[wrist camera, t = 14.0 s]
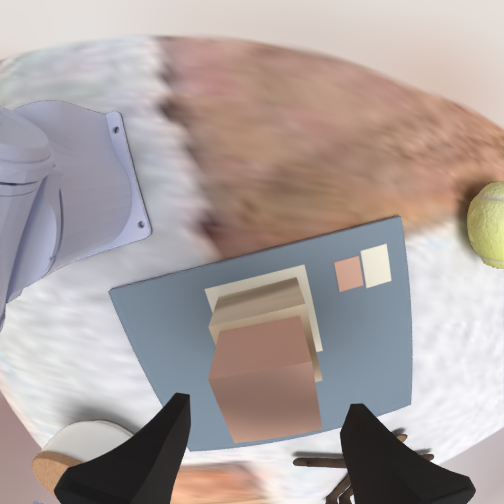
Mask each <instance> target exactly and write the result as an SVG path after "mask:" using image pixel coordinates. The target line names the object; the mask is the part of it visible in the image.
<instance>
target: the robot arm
mask: <svg viewBox="0 0 504 504" xmlns="http://www.w3.org/2000/svg"><path fill="white" fill-rule="evenodd" d="M117 127H118V128H119V131H118V133H117V134H116V133H115V129H116V128H117ZM140 221H143V222H144V225H145V226H144V228H142V227H141V226H140ZM150 235H151V227H150V223H149V220H148V217H147V214H146V210H145V207H144V203H143V200H142V196H141V193H140V189H139V186H138V182H137V179H136V175H135V171H134V167H133V163H132V160H131V156H130V152H129V148H128V144H127V139H126V135H125V131H124V127H123V122H122V118H121V114H120V113H119V112H117V111H112V112H110V113H108V114H106V115H104V114H101V113H98V112H95V111H92V110H89V109H86V108H82V107H79V106H76V105H73V104H70V103H67V102H63V101H56V100H49V101H40V102H34V103H30V104H27V105H24V106H21V107H19V108H17V109H15V110H13V111H10V110H8V109H6V108H3V107H1V106H0V332H1V330H2V328H3V324H4V321H5V305H6V303H9V302H10V301H12V300H13V299H15V298H17V297H18V296H20V295H21V292H22V290H23V289H24V288H25V287H27V286H29V285H31V284H33V283H35V282H36V281H38V280H40V279H42V278H43V277H45V276H47V275H49V274H51V273H53V272H54V271H56V270H58V269H60V268H62V267H64V266H66V265H68V264H69V263H71V262H74V261H77V260H80V259H83V258H86V257H89V256H92V255H95V254H98V253H101V252H104V251H107V250H110V249H113V248H116V247H119V246H123V245H126V244H129V243H132V242H135V241H139V240H142V239H145V238H147V237H149V236H150ZM190 428H191V410H190V394H184V393H177V392H176V393H175V394H174V395H173V396H172V397H171V399H170V400H169V401H168V402H167V403H166V405H165V406H164V407H163V408H162V409H161V410H160V411H159V412H158V413H157V414H156V416H155V417H154V418H153V419H152V420H151V421H150V422H149V423H147V424H146V425H145V426H144V427H143V428H142V429H141V430H140V431H138V432H137V433H136V434H135V435H133V436H132V437H131V438H129V439H128V440H127V441H125V442H124V443H122V444H121V445H119V446H117V447H116V448H114V449H112V450H111V451H109V452H107V453H105V454H103V455H101V456H99V457H97V458H94V459H92V460H90V461H87V462H84V463H81V464H78V465H75V466H72V467H68V468H67V469H66V471H65V472H64V473H63V474H62V476H61V477H60V479H59V481H58V483H57V484H56V486H55V488H54V494H55V496H56V497H57V499H58V500H59V502H60V503H61V504H170V500H171V495H172V490H173V486H174V483H175V479H176V476H177V473H178V470H179V467H180V464H181V462H182V459H183V456H184V453H185V450H186V447H187V444H188V439H189V434H190ZM340 439H341V447H342V452H343V456H344V460H345V463H346V467H347V471H348V474H349V478H350V481H351V485H352V489H353V494H354V501H355V504H467V503H468V501H470V499H471V498H472V497H473V496H474V494H475V492H476V489H475V487H474V485H473V484H472V482H471V480H470V478H469V477H467V476H464V475H461V474H458V473H455V472H452V471H449V470H447V469H445V468H442V467H440V466H438V465H436V464H434V463H432V462H430V461H429V460H427V459H425V458H423V457H422V456H420V455H419V454H417V453H416V452H414V451H413V450H411V449H410V448H409V447H407V446H406V445H405V444H404V443H402V442H401V441H400V440H399V439H398V438H397V437H396V436H394V435H393V434H392V433H391V432H390V431H389V430H388V429H387V428H386V427H385V426H384V425H383V424H382V423H381V422H380V421H379V420H378V419H377V418H376V416H375V415H374V414H373V413H372V412H371V411H370V410H369V409H368V408H367V407H366V406H365V405H364V404H363V403H357V404H351V405H350V408H349V410H348V413H347V416H346V418H345V421H344V424H343V426H342V429H341V431H340ZM33 504H42V503H40V502H38V501H34V503H33Z"/></svg>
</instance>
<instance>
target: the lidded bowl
mask: <svg viewBox="0 0 504 504" xmlns="http://www.w3.org/2000/svg"><path fill="white" fill-rule="evenodd" d="M133 435H134V434H133V433H131V432H130V431H129V430H127V429H125V428H124V427H122V426H120V425H118V424H115V423H113V422H109V421H105V420H94V421H83V422H77V423H73V424H70V425H68V426H66V427H64V428H63V429H61V430H60V431H59V432H57V433H56V434H55V435H54V436H53V437H52V438H51V439H50V440H49V441H48V443H47V444H46V445H45V446H44V448H43V449H42V451H41V452H40V453H38V455H37V456H36V457H35V458H34V460H33V462H32V467H33V471H34V473H35V475H36V477H37V478H38V480H39V481H40V482H41V483H42V485H43V486H44V487H45V488H46V489H47V490H48V491H49V492H50V493H52V495H53V496H55V494H54V488H55V486H56V484H57V483H58V481H59V479H60V477H61V476H62V474H63V473H64V472H65V471H66V469H67V468H68V467H72V466H75V465H78V464H81V463H84V462H87V461H90V460H92V459H94V458H97V457H99V456H101V455H103V454H105V453H107V452H109V451H111V450H112V449H114V448H116V447H117V446H119V445H121V444H122V443H124V442H125V441H127V440H128V439H129V438H131V437H132V436H133ZM55 497H56V496H55ZM56 498H57V497H56Z"/></svg>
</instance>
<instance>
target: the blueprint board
mask: <svg viewBox="0 0 504 504" xmlns="http://www.w3.org/2000/svg"><path fill="white" fill-rule="evenodd" d="M295 277H297V280H298V283H299V286H300V289H301V292H302V295H303V298H304V301H305V304H306V308H307V312H308V317H309V321H310V325H311V330H312V334H313V339H314V343H315V348H316V352H317V357H318V362H319V366H320V371H321V376H322V381H318V382H315V385H316V391H317V397H318V404H319V410H320V417H321V423H322V430H318V431H313V432H308V433H303V434H297V435H292V436H286V437H280V438H273V439H266V440H259V441H251V442H242V443H234V441H233V439H232V436H231V434H230V432H229V429H228V427H227V425H226V422H225V420H224V418H223V415H222V413H221V411H220V408H219V406H218V403H217V401H216V398H215V396H214V393H213V391H212V388H211V386H210V383H209V380H208V377H209V373H210V369H211V365H212V361H213V357H214V353H215V349H216V346H215V343H214V340H213V338H212V335H211V333H210V330H209V327H208V326H209V323H210V320H211V318H212V315H213V312H214V309H215V306H216V303H217V300H218V297H220V296H224V295H228V294H232V293H236V292H240V291H244V290H248V289H252V288H256V287H260V286H264V285H268V284H272V283H276V282H280V281H284V280H288V279H291V278H295ZM108 292H109V295H110V297H111V300H112V302H113V305H114V307H115V310H116V312H117V314H118V317H119V319H120V321H121V324H122V326H123V328H124V331H125V333H126V335H127V337H128V339H129V342H130V344H131V346H132V348H133V350H134V352H135V354H136V356H137V359H138V361H139V363H140V365H141V367H142V369H143V371H144V373H145V375H146V377H147V378H148V380H149V382H150V384H151V386H152V388H153V390H154V392H155V394H156V395H157V397H158V399H159V401H160V403H161V404H162V406H163V407H164V406H165V405H166V403H167V402H168V401H169V400H170V399H171V397H172V396H173V395H174V394H175V393H176V392H177V393H184V394H190V410H191V428H190V434H189V439H188V444H187V448H188V449H189V451H190V452H191V451H207V450H219V449H229V448H238V447H246V446H253V445H260V444H266V443H273V442H278V441H284V440H289V439H294V438H299V437H304V436H308V435H313V434H317V433H321V432H326V431H330V430H333V429H337V428H341V427H342V426H343V424H344V421H345V418H346V416H347V413H348V410H349V408H350V405H351V404H357V403H363V404H364V405H365V406H366V407H367V408H368V409H369V410H370V411H371V412H372V413H373V414H374V415H375V416H376V417H378V416H381V415H384V414H386V413H389V412H392V411H395V410H398V409H400V408H403V407H406V406H408V405H411V394H412V317H411V299H410V286H409V275H408V265H407V256H406V248H405V240H404V233H403V226H402V220H401V216H398V215H397V216H393V217H390V218H386V219H382V220H378V221H374V222H370V223H366V224H362V225H359V226H355V227H351V228H347V229H343V230H339V231H335V232H331V233H327V234H324V235H320V236H316V237H312V238H308V239H304V240H300V241H296V242H293V243H289V244H285V245H281V246H277V247H273V248H269V249H265V250H261V251H258V252H254V253H250V254H246V255H242V256H238V257H234V258H230V259H226V260H223V261H219V262H215V263H211V264H207V265H203V266H199V267H195V268H191V269H187V270H184V271H180V272H176V273H172V274H168V275H164V276H160V277H156V278H152V279H148V280H145V281H141V282H137V283H133V284H129V285H125V286H121V287H117V288H113V289H111V290H110V291H108Z"/></svg>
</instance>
